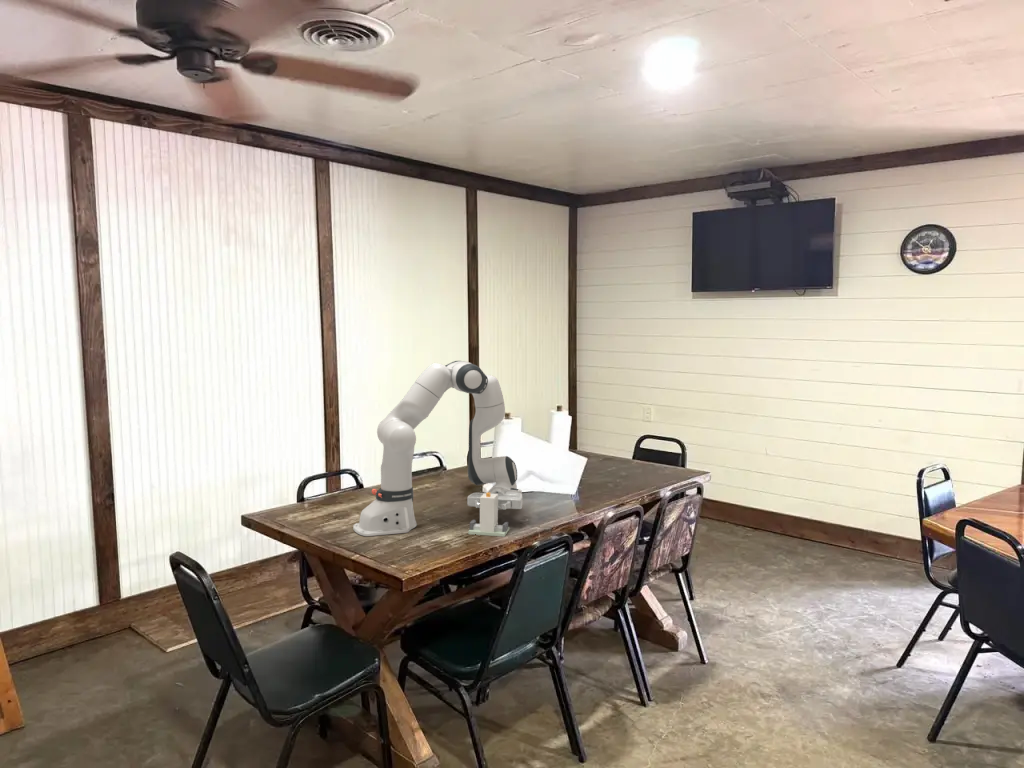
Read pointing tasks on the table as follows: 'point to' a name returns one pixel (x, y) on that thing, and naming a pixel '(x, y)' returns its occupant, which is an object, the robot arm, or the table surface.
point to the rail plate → (498, 531)
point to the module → (488, 512)
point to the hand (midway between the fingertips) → (490, 506)
